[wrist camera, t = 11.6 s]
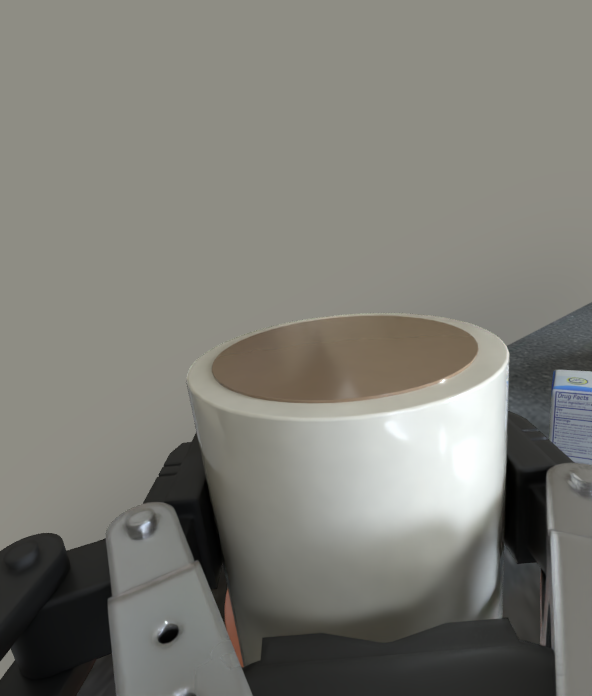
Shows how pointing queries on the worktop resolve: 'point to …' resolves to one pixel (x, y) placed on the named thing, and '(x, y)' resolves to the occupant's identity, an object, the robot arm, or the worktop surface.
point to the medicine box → (572, 414)
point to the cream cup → (356, 474)
